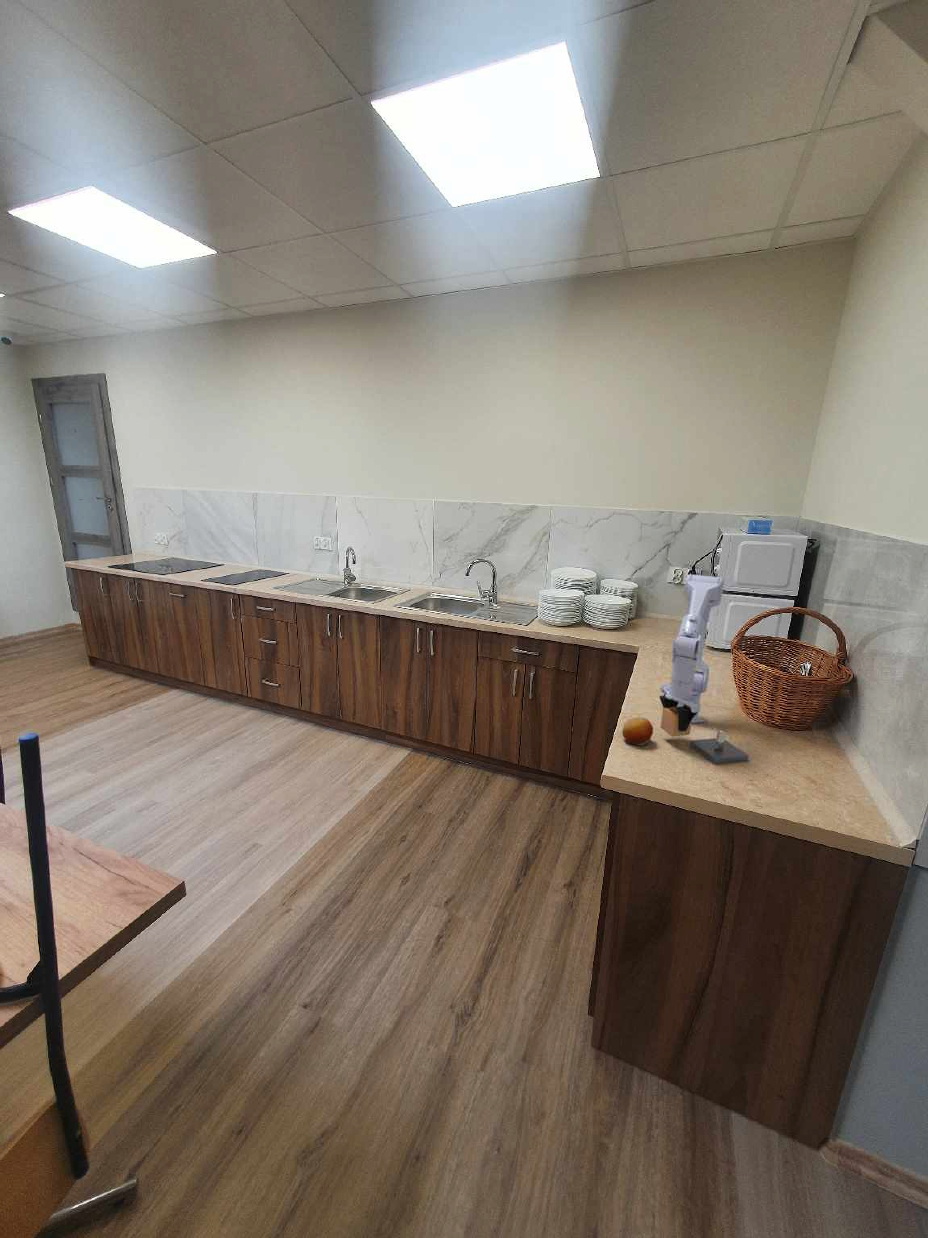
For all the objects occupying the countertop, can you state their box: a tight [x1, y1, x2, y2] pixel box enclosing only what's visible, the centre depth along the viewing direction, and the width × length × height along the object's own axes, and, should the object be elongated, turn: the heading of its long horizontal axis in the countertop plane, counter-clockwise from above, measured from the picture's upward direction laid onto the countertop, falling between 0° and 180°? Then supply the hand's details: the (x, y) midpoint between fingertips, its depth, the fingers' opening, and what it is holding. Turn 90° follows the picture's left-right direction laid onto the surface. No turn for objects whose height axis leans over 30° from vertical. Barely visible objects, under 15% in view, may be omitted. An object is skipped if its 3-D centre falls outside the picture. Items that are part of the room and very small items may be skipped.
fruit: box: [621, 716, 654, 747], centre depth 140 cm, size 8×8×8 cm
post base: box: [689, 729, 750, 765], centre depth 135 cm, size 10×10×6 cm
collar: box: [660, 706, 692, 737], centre depth 140 cm, size 5×5×6 cm
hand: (675, 725), depth 140 cm, fingers closed on collar, 5 cm apart
